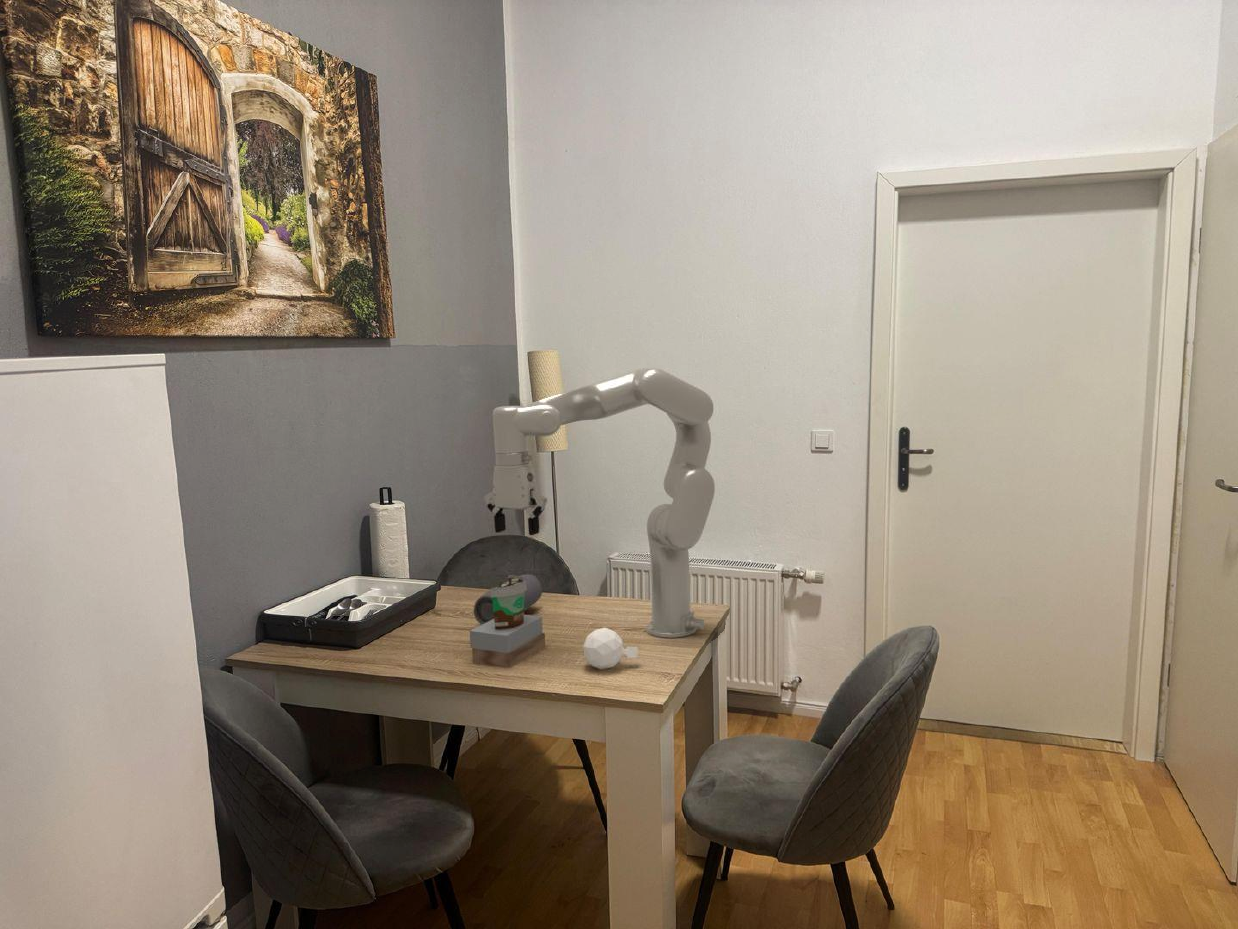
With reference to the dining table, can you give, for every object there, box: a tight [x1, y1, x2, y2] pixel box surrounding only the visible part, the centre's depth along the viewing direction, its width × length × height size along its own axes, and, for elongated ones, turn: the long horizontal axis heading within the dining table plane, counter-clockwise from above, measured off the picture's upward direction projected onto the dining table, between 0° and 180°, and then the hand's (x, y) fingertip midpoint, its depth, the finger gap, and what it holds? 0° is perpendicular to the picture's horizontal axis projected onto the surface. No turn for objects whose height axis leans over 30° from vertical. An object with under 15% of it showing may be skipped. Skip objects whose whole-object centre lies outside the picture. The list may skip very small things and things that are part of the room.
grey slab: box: [469, 614, 544, 653], centre depth 199 cm, size 10×15×4 cm, turn 154°
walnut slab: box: [471, 632, 546, 669], centre depth 200 cm, size 10×15×4 cm, turn 152°
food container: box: [490, 574, 527, 629], centre depth 198 cm, size 12×6×10 cm, turn 168°
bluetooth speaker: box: [473, 573, 543, 625], centre depth 227 cm, size 23×9×10 cm, turn 159°
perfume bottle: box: [582, 627, 639, 671], centre depth 189 cm, size 9×9×12 cm
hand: (517, 532), depth 199 cm, fingers open, 9 cm apart
